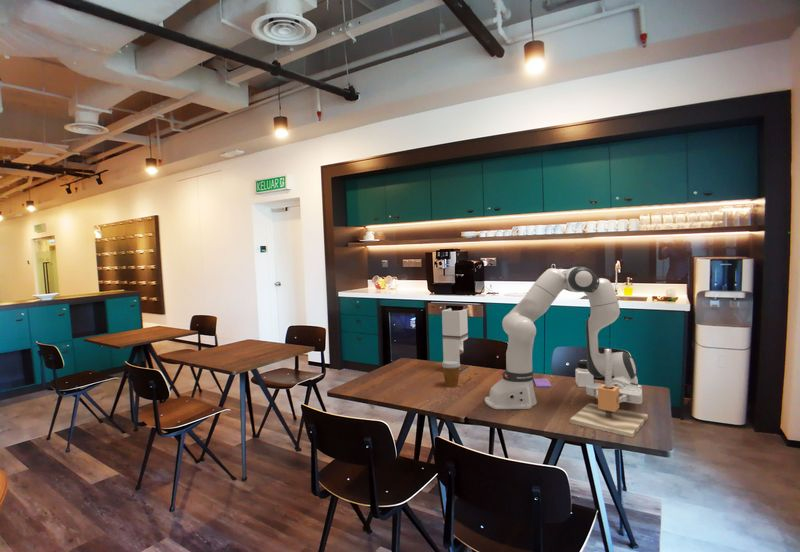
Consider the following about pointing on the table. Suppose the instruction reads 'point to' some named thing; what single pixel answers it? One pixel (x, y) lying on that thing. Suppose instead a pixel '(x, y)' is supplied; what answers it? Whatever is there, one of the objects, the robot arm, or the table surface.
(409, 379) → the table surface
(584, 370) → the medicine bottle
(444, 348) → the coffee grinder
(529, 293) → the robot arm
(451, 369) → the disposable coffee cup
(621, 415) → the pipe stand
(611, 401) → the sleeve
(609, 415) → the steel pipe
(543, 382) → the sponges
